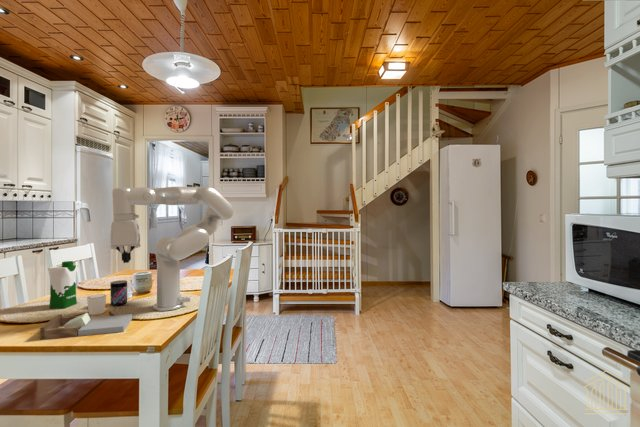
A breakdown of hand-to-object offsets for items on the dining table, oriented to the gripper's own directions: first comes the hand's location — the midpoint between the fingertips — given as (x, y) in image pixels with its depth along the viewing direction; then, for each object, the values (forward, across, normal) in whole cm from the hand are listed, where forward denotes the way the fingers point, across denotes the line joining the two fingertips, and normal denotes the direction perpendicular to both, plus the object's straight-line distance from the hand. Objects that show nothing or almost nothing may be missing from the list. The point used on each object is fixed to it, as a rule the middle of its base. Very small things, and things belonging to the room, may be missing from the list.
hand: (126, 262), depth 137 cm
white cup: (+22, +14, -8) cm, 27 cm away
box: (+22, +18, +12) cm, 30 cm away
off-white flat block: (+20, +14, +12) cm, 27 cm away
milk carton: (+22, +30, -22) cm, 44 cm away
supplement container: (+23, +8, -18) cm, 30 cm away
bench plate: (+22, +5, +12) cm, 26 cm away
